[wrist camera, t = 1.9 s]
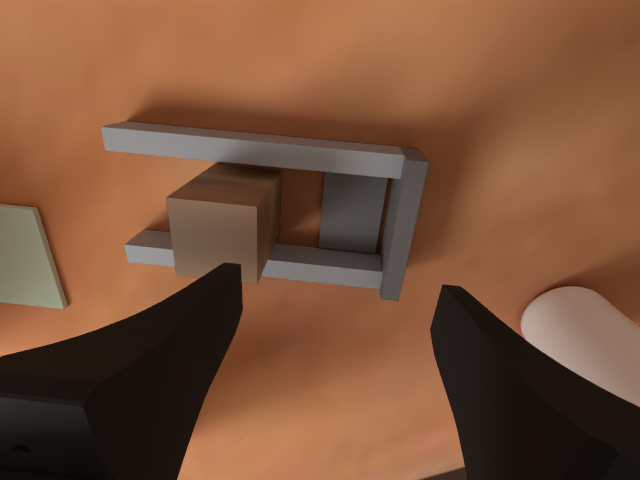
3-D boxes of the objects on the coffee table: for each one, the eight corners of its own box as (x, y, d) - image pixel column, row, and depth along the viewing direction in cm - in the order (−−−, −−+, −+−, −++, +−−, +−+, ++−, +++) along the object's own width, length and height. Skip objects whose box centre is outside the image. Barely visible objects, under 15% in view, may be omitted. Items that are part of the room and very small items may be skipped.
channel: (392, 271, 23) (398, 300, 20) (146, 245, 23) (117, 270, 20) (417, 148, 19) (429, 162, 16) (125, 121, 20) (87, 129, 17)
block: (280, 232, 22) (257, 284, 17) (218, 225, 22) (176, 275, 17) (281, 170, 20) (256, 206, 15) (214, 164, 20) (166, 197, 15)
